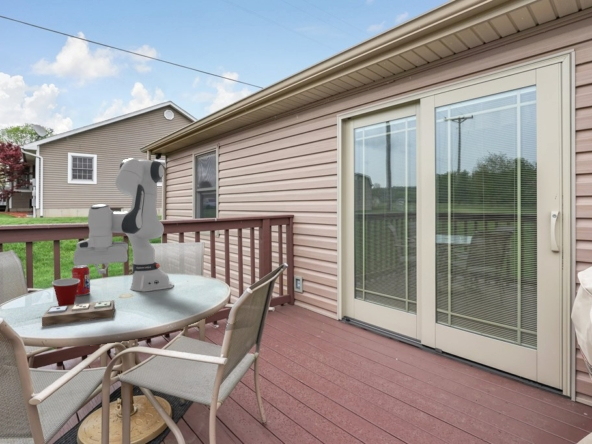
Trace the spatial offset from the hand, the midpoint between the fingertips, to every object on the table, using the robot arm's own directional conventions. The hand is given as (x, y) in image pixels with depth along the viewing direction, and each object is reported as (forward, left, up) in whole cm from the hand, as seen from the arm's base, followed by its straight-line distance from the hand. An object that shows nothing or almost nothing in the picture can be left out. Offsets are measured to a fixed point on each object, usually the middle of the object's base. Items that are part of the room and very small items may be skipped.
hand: (102, 273), depth 143 cm
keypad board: (+8, +1, -17) cm, 19 cm away
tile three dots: (+8, +1, -16) cm, 18 cm away
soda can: (+13, -37, -18) cm, 43 cm away
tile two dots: (0, +1, -16) cm, 16 cm away
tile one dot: (+16, +1, -16) cm, 23 cm away
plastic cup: (+16, -17, -18) cm, 29 cm away
